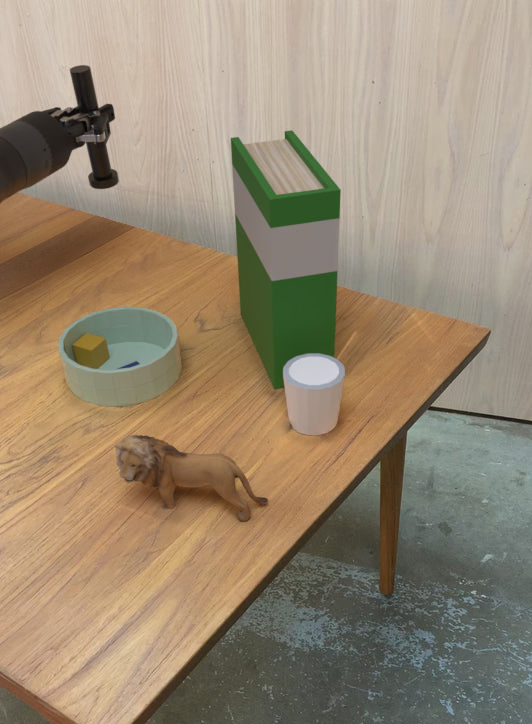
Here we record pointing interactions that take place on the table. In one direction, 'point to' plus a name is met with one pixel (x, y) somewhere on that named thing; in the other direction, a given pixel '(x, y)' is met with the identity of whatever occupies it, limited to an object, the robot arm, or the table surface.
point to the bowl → (123, 356)
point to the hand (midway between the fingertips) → (101, 109)
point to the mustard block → (91, 351)
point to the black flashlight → (88, 103)
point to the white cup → (313, 392)
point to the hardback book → (285, 250)
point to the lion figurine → (181, 471)
